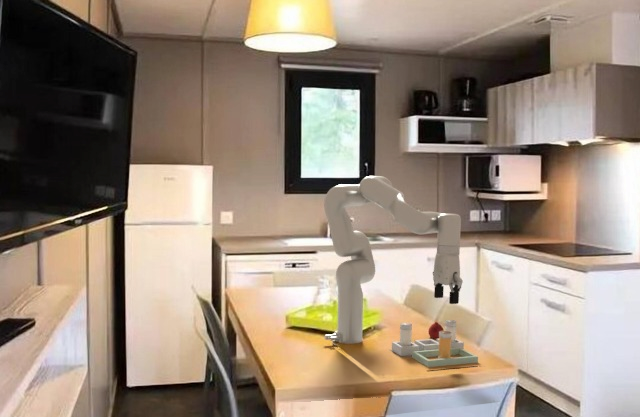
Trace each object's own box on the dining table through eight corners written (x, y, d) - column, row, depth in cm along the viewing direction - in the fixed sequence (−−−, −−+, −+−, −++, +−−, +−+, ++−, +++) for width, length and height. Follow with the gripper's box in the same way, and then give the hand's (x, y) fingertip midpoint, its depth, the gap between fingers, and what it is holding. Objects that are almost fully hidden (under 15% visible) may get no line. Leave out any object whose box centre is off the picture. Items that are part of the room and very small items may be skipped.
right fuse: (447, 350, 219) (448, 323, 219) (441, 347, 223) (442, 320, 222) (457, 349, 220) (458, 322, 220) (451, 346, 224) (452, 319, 224)
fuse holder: (400, 361, 210) (400, 348, 210) (389, 353, 219) (389, 341, 219) (466, 355, 219) (466, 343, 219) (452, 348, 227) (453, 336, 227)
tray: (427, 371, 200) (428, 360, 200) (411, 361, 210) (412, 351, 210) (477, 366, 206) (478, 356, 206) (459, 357, 216) (460, 347, 216)
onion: (444, 340, 239) (445, 320, 238) (442, 344, 233) (443, 323, 233) (429, 338, 241) (430, 318, 240) (427, 342, 235) (427, 321, 235)
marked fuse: (442, 363, 205) (443, 334, 205) (435, 359, 209) (436, 331, 209) (452, 362, 207) (453, 333, 206) (446, 359, 211) (447, 330, 210)
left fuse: (402, 354, 213) (403, 326, 213) (397, 351, 217) (398, 323, 217) (413, 353, 215) (413, 325, 214) (407, 350, 218) (408, 322, 218)
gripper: (425, 247, 213) (423, 296, 214) (452, 253, 197) (449, 306, 198) (444, 246, 215) (442, 295, 216) (472, 253, 199) (470, 305, 200)
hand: (446, 300), depth 207 cm, fingers open, 9 cm apart
